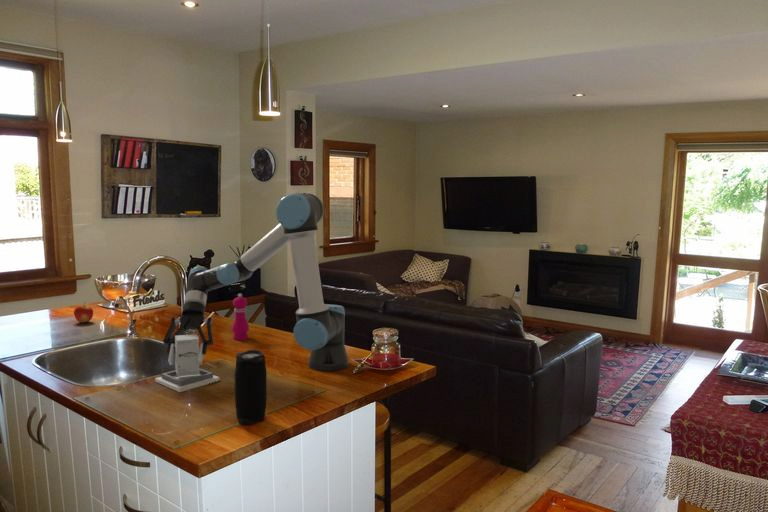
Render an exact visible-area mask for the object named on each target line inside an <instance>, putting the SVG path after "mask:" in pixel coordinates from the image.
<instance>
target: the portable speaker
mask: <svg viewBox="0 0 768 512" xmlns="http://www.w3.org/2000/svg"><path fill="white" fill-rule="evenodd" d="M235 359H236V361H235V367H234V368H235V369H234V402H235V404H234V407H235V414H236V419H237V420H238V423H239V424H242V425H243V426H252V425H253V423H255V422H258V421H261V422H264V421H265V419H266V417H265V416H266V409H267V398H268V397H267V395H268V394H267V365H266V356H265V354H264V353H263V352H262V351H261V350H258V349H247V350H245V351H243V352H240V353H236V356H235Z"/></svg>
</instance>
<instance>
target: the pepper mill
mask: <svg viewBox="0 0 768 512" xmlns="http://www.w3.org/2000/svg"><path fill="white" fill-rule="evenodd" d="M232 305H233V306H234V310H233V312H235V318H234V321H233V322H232V326H231V331H232V333H233V334H232V339H233V340H235V341H243V340H244V339H245V340H247V339H248V337H249V334H248V332H249V329H250V327H249V323H248V321H247V318H246V311H247V308H246V306H247V305H248V300H247V298H246V297H244V296H243V293H238V294H237V297H235V298H234V299H233V301H232Z"/></svg>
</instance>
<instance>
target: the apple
mask: <svg viewBox="0 0 768 512" xmlns="http://www.w3.org/2000/svg"><path fill="white" fill-rule="evenodd" d="M73 313H74V314H73V315H74V318H75V319H76V321H77V322H79V323H80V324H82V323H88V322H90V321H91V320H92V319H93V316H94V310H93V308H92V307H91V306H90V305H86V302H84V304H81V305H78V306H76V307H75V308H74V310H73Z"/></svg>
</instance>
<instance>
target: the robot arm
mask: <svg viewBox="0 0 768 512" xmlns="http://www.w3.org/2000/svg"><path fill="white" fill-rule="evenodd" d="M324 213H325V208H324V204H323V201H322V200H321V199H320V197H318V196H317V195H315V194H313V193H298V192H297V193H296V192H295V193H291V194H290V193H289V194H287V195H285V196H283V197H282V198H281V199H280V200H279V201H278V203H277V205H276V209H275V217H276V220H277V222H278V224H277V225H276V226H275V227H274V228H273V229H271V230H270V231H269V232H268V233H267V234H266V235H264V236H263V237H262V238H261V239H260V240H258V241H257V242H256V243H255V244H254V245H252V246H251V247H250V248H249V249H248V250H247V251H245V252H244V253H243V254H242V255H240V257H238V258H237V259H236V260H235V261H234V262H228V263H224V264H223V263H222V264H221V265H218V266H215V267H212V268H210V269H209V268H207V267H205V266H200V267H199V266H195V267H193V268H192V269H191V270H190V271H189V273H188V274H189V275H188V277H187V282H186V283H187V284H186V290H185V296H184V301H183V306H182V312H181V315H180V317H179V318H178V317H177V318H175V317H171V318H170V319H171V321H170V325H169V327H168V329H167V331H166V333H165V335H164V337H163V341H162V342H163V344H164V345H165V346H167V348H166V353H167V355H168V359H167V362H168V364H169V365H170V366H171V365H173V361H174V357H175V336H176V335H184V333H186V332H187V331H189V330H193V331H195V330H196V331H197V334H198V335H199V337H200V339H201V341H202V342H201V343H199V357H198V362H199V365H202V364H203V358H204V357H203V356H204V355H206V354H207V350H208V347H209V346H213V345H214V338H213V329H212V325H213V319H212V317H206V318H205V313H206V304H207V299H208V293H209V292H210V291H214V290H217V289H219V288H223V287H226V286H230V285H232V284H236V283H238V282H243V281H246V280H248V279H250V278H251V277H252V275H253V274H254V272H255V271H256V270H258V268H260V267H261V266H262V265H264V264H265V263H266V262H267V261H268V260H270V258H272V257H273V256H274V255H275V254H277V253H278V252H279V251H280V250H281V249H282V248H284V247H285V246H286V245H287V244H289V245H290V253H291V258H292V265H293V266H292V267H293V273H294V274H293V275H294V278H295V279H294V281H295V285H296V293H297V301H298V309H296V311H295V317H296V323H295V325H294V327H293V332H292V333H293V338H294V340H295V342H296V343H297V345H299V346H300V347H301V348H302V349H305V350H307V351H310V356H309V357H308V362H307V363H308V367H310V368H311V369H312V370H316V371H322V372H330V371H331V372H332V371H334V372H335V371H340V370H343V369H346V368H348V367H349V362H350V361H349V359H350V358H349V356H348V354H347V350H346V346H345V325H346V324H345V319H346V317H345V316H346V313H345V307H344V306H343V305H338V304H328V303H326V304H325V302H324V297H323V288H322V280H321V275H320V267H319V260H318V255H317V246H316V239H315V235H316V234H317V232H318V231H319V229H318V223H319V222H320V221H321V220H322V219H323V217H324ZM179 323H180V325H179ZM203 324H205V325H206V328H207V329H206V331H207V338H208V340H207V339H206V337H205V335H204V332H203V330H202V328H201V326H202V325H203ZM178 325H179V327H178V328H177V326H178ZM176 328H177V330H176ZM175 330H176V331H175Z"/></svg>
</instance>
